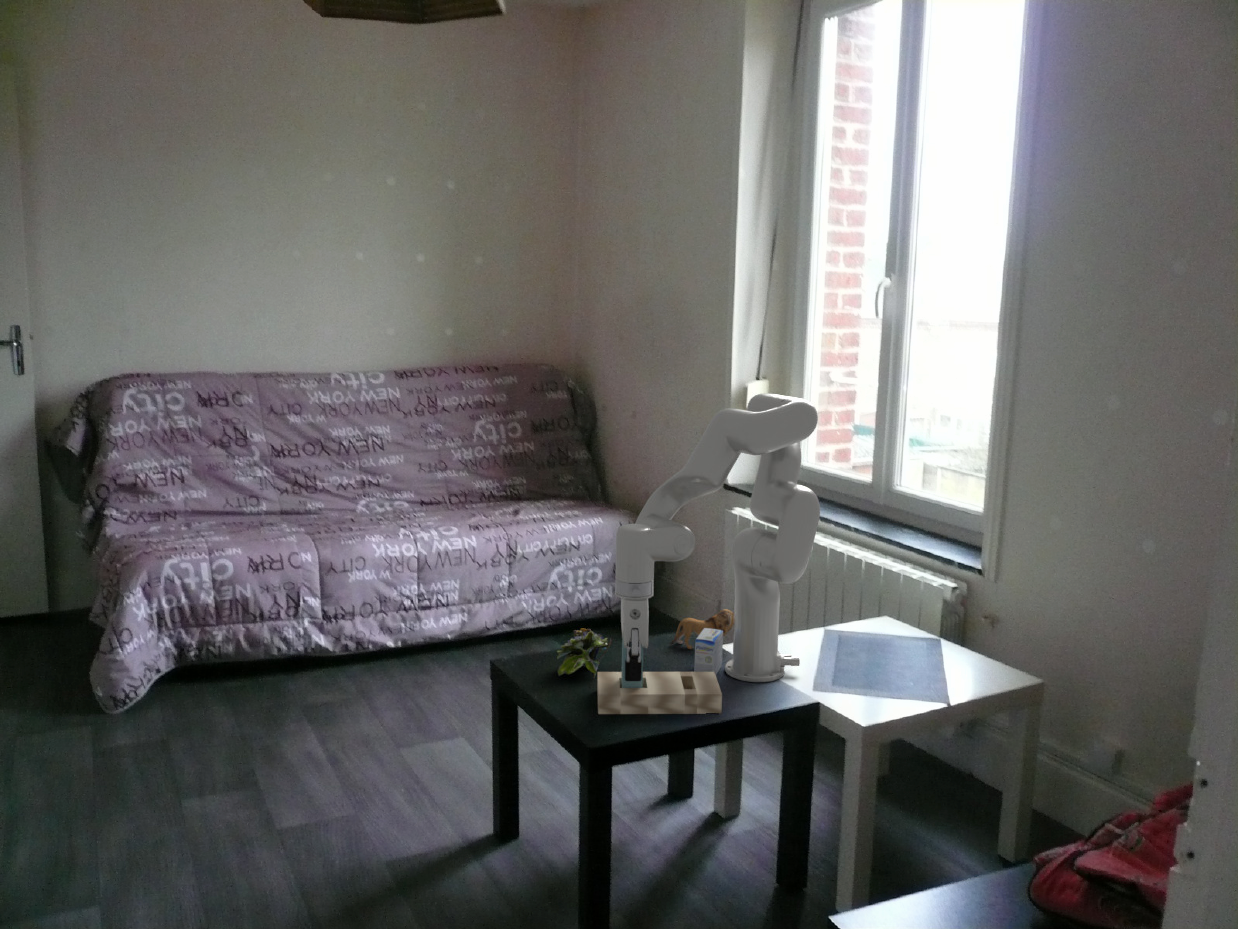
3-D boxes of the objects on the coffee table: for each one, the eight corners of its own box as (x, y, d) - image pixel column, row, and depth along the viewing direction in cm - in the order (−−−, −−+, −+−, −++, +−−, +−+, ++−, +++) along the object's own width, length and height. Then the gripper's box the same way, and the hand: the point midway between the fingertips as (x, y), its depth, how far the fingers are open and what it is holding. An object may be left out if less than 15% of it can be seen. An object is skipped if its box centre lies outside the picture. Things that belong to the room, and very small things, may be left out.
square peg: (641, 682, 216) (642, 635, 214) (642, 690, 212) (643, 641, 210) (621, 682, 216) (622, 634, 214) (622, 690, 212) (623, 641, 210)
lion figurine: (732, 643, 249) (733, 606, 248) (734, 651, 244) (735, 613, 242) (669, 642, 249) (669, 605, 248) (670, 650, 244) (670, 612, 242)
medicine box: (702, 665, 235) (703, 627, 234) (722, 667, 234) (723, 629, 232) (693, 677, 228) (694, 638, 226) (714, 680, 226) (715, 641, 225)
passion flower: (581, 690, 234) (605, 640, 238) (605, 698, 225) (629, 646, 228) (540, 668, 230) (565, 617, 233) (563, 675, 220) (589, 622, 223)
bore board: (713, 690, 221) (714, 671, 220) (721, 713, 209) (721, 694, 208) (597, 690, 220) (597, 671, 219) (598, 714, 208) (598, 694, 207)
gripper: (656, 600, 202) (654, 692, 205) (650, 575, 219) (648, 661, 222) (616, 600, 202) (614, 692, 205) (613, 575, 218) (612, 661, 221)
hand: (632, 675), depth 213 cm, fingers closed on square peg, 4 cm apart
